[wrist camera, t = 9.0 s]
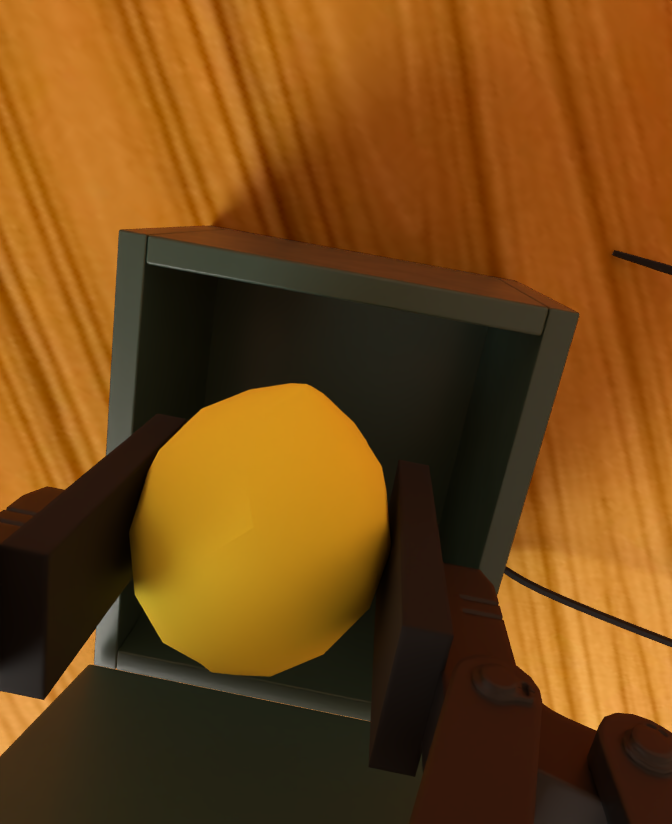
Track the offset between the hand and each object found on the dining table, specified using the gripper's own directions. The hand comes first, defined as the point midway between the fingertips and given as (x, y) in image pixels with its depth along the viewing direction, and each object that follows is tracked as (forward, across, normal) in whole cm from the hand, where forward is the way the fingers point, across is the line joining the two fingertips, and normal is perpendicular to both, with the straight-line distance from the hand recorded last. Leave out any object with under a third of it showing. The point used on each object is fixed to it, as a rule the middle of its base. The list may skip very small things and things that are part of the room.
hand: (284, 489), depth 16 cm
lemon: (0, 0, 0) cm, 1 cm away
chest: (+12, 0, +2) cm, 12 cm away
